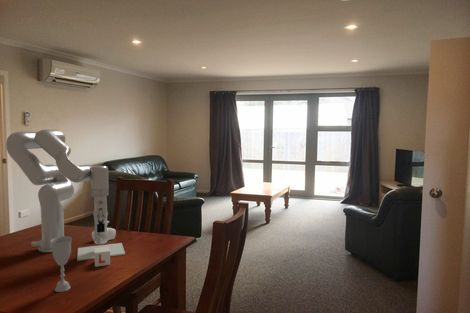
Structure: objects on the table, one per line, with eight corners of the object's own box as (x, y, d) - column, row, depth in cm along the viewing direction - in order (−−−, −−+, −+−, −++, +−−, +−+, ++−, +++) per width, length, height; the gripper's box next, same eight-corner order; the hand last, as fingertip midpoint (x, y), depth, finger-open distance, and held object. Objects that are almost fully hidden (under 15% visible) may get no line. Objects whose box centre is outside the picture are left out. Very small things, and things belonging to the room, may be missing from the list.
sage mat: (77, 260, 146) (77, 259, 146) (78, 249, 160) (78, 247, 160) (125, 254, 154) (125, 253, 154) (121, 244, 168) (121, 242, 168)
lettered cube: (95, 267, 139) (94, 253, 139) (94, 261, 145) (94, 248, 145) (110, 265, 142) (110, 251, 141) (109, 259, 147) (109, 246, 147)
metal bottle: (94, 246, 152) (93, 203, 151) (93, 242, 158) (92, 200, 157) (109, 244, 155) (108, 202, 154) (107, 240, 161) (106, 199, 160)
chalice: (57, 284, 123) (56, 236, 122) (76, 283, 123) (75, 236, 122) (48, 293, 116) (46, 242, 114) (68, 293, 116) (67, 242, 115)
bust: (115, 242, 178) (113, 222, 184) (117, 236, 173) (115, 216, 178) (91, 245, 173) (90, 225, 178) (92, 239, 167) (91, 219, 173)
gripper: (109, 194, 149) (110, 234, 150) (107, 188, 165) (108, 224, 166) (91, 195, 146) (92, 236, 147) (91, 189, 162) (91, 226, 163)
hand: (100, 229), depth 156 cm, fingers closed on metal bottle, 5 cm apart
